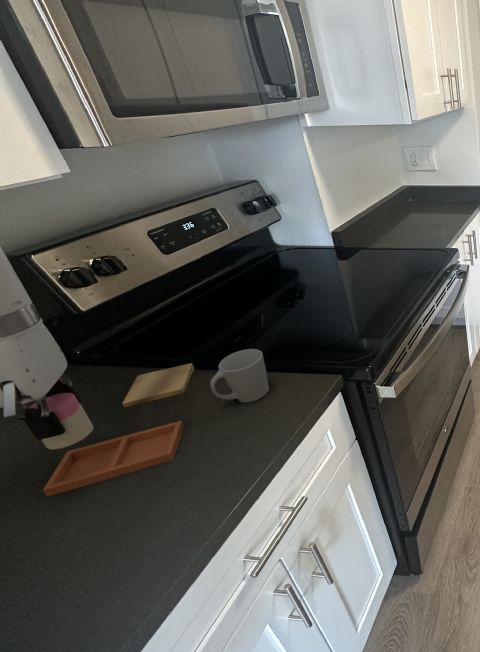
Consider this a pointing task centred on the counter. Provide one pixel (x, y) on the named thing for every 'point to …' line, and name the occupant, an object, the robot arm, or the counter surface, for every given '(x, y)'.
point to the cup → (243, 376)
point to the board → (159, 385)
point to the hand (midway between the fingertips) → (61, 421)
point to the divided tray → (115, 457)
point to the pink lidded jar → (67, 420)
